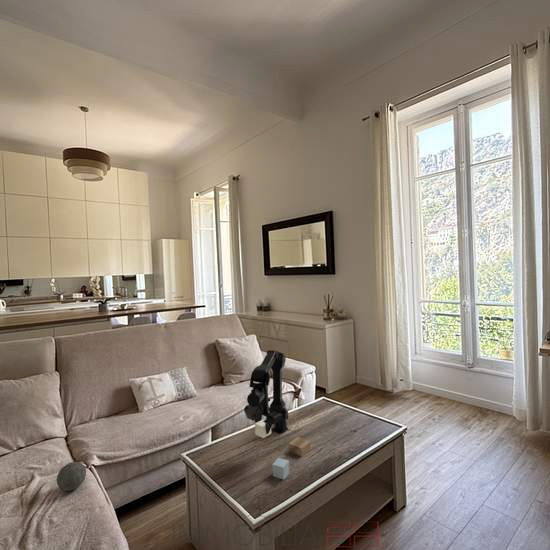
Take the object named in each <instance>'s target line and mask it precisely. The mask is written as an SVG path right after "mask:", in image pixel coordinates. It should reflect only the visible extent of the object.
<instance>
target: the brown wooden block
mask: <svg viewBox="0 0 550 550" xmlns="http://www.w3.org/2000/svg"><path fill="white" fill-rule="evenodd" d="M309 451H311V441H310V440H307V439H305V438H302V437H299V436H296V437H295V438H293V440H291V441H290V442H289V443H288V452H290V453H291V452H292V454H294V455H297V456H299V457H304V456H305V455H306V454H307V453H308V452H309Z"/></svg>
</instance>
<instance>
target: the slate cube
mask: <svg viewBox="0 0 550 550" xmlns="http://www.w3.org/2000/svg"><path fill="white" fill-rule="evenodd" d="M271 465H272V477H274V478H278V479H280V480H286V477H287V476H288V475H289V474H290V460H288V459H284V458H282V457H277V459H276V460H275V461H274V462H273V463H272V464H271Z"/></svg>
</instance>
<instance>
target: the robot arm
mask: <svg viewBox="0 0 550 550" xmlns="http://www.w3.org/2000/svg"><path fill="white" fill-rule="evenodd" d="M286 360H287V357H286V355H285V354H284V353H283V352H280V351H278V350H276V349H275V350H273V349H269V350H267V352H266V355H265V356H264V359H263V360H262V361H261V364H260V365H257V366H255V368H254V369H253V371H251V374H250V381H249V388H252V389H251V390H250V393H249V394H248V395H247V398H246V401H247V404H246V405H245V406H244V407H243V409H244V411H243V412H244V413H245V416H246V418H247V420H250V421H252V422H254V424H255V423H257V422H259V421H261V420H264V421H263V422H264V423H265V426H266V434H268V433H269V431H270V429H271V431H273V432H274V433H278V434H282V433H284V432H286V431H287V430H289V427H288V426H287V425H288V424H287V420H288V419H289V410H288V409H287V407H286V402H285V401H284V399H283V377H282V376H283V373H282V372H283V368H284V367H285V365H286ZM271 370H272V376H271V373H270V372H271ZM271 377H272V401H271V398H270V397H269V385H270V382H271ZM269 402H271V403H270V404H269ZM263 417H266V418H265V419H263Z"/></svg>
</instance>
